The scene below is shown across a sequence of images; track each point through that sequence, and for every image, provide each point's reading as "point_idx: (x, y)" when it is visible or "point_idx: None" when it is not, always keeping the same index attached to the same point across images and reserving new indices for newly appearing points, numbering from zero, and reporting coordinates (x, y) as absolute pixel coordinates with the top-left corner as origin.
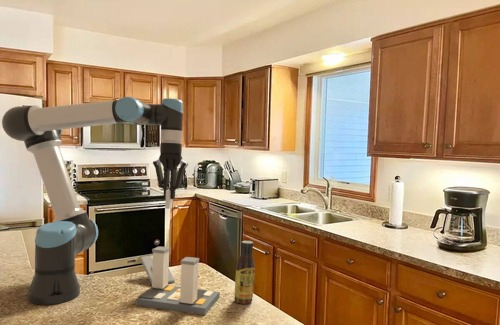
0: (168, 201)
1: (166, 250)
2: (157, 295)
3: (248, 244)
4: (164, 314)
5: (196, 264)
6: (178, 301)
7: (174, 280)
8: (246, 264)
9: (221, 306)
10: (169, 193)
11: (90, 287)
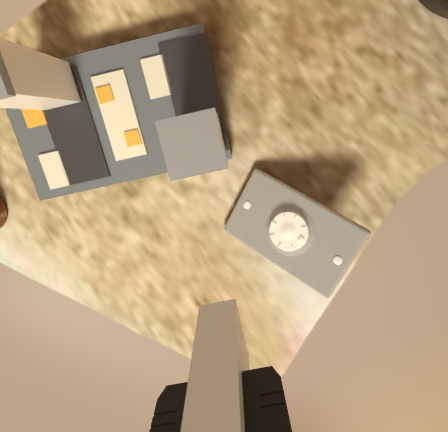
0: (203, 343)
1: (162, 145)
2: (162, 73)
3: None
4: (93, 18)
5: None
6: (85, 75)
7: (224, 228)
8: None
9: (7, 149)
10: (185, 418)
11: (422, 58)
